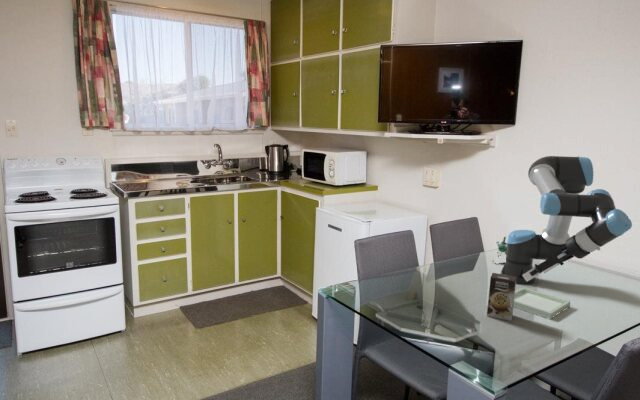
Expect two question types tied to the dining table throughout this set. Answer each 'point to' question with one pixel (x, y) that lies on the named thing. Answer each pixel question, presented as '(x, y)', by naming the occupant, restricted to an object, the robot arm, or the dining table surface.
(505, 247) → the frog figurine
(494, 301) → the coffee box
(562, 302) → the tray
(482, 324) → the dining table surface
